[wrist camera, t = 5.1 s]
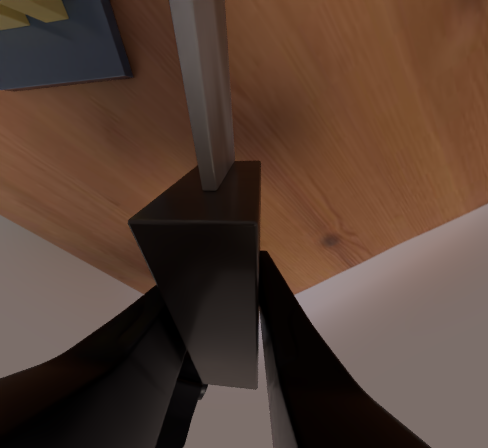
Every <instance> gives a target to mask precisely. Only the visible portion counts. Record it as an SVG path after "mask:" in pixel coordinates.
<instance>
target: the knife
mask: <svg viewBox="0 0 488 448" xmlns="http://www.w3.org/2000/svg"><path fill="white" fill-rule="evenodd" d="M169 3H170V9H171V15H172V20H173V26H174V32H175V37H176V43H177V49H178V54H179V60H180V66H181V71H182V77H183V83H184V88H185V94H186V100H187V105H188V111H189V117H190V122H191V128H192V134H193V139H194V145H195V151H196V156H197V162H198V165H197V166H196V167H195V168H194V169H192V170H191V171H190V172H189V173H187V174H186V175H185V176H183V177H182V178H181V179H180V180H178V181H177V182H176V183H175V184H173V185H172V186H171V187H170V188H168V189H167V190H166V191H164V192H163V193H162V194H161V195H159V196H158V197H157V198H156V199H154V200H153V201H152V202H150V203H149V204H148V205H147V206H145V207H144V208H143V209H142V210H140V211H139V212H138V213H137V214H135V215H134V216H133V217H131V218H130V219H129V220H128V225H129V227H130V229H131V231H132V233H133V236H134V238H135V240H136V242H137V244H138V246H139V248H140V250H141V253H142V255H143V257H144V259H145V261H146V263H147V265H148V268H149V270H150V272H151V274H152V276H153V278H154V280H155V282H156V285H157V287H158V289H159V291H160V293H161V295H162V297H163V300H164V302H165V304H166V306H167V308H168V310H169V312H170V314H171V317H172V319H173V321H174V323H175V325H176V327H177V329H178V331H179V334H180V336H181V338H182V340H183V342H184V344H185V346H186V349H187V351H188V353H189V355H190V357H191V359H192V361H193V363H194V366H195V368H196V370H197V372H198V374H199V376H200V378H201V381H202V383H203V384H211V385H219V386H228V387H237V388H238V387H239V388H246V389H247V388H248V389H255V390H256V389H257V388H258V345H259V344H258V343H259V266H260V214H261V161H235V151H234V135H233V120H232V104H231V89H230V73H229V58H228V42H227V27H226V12H225V0H169Z"/></svg>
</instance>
